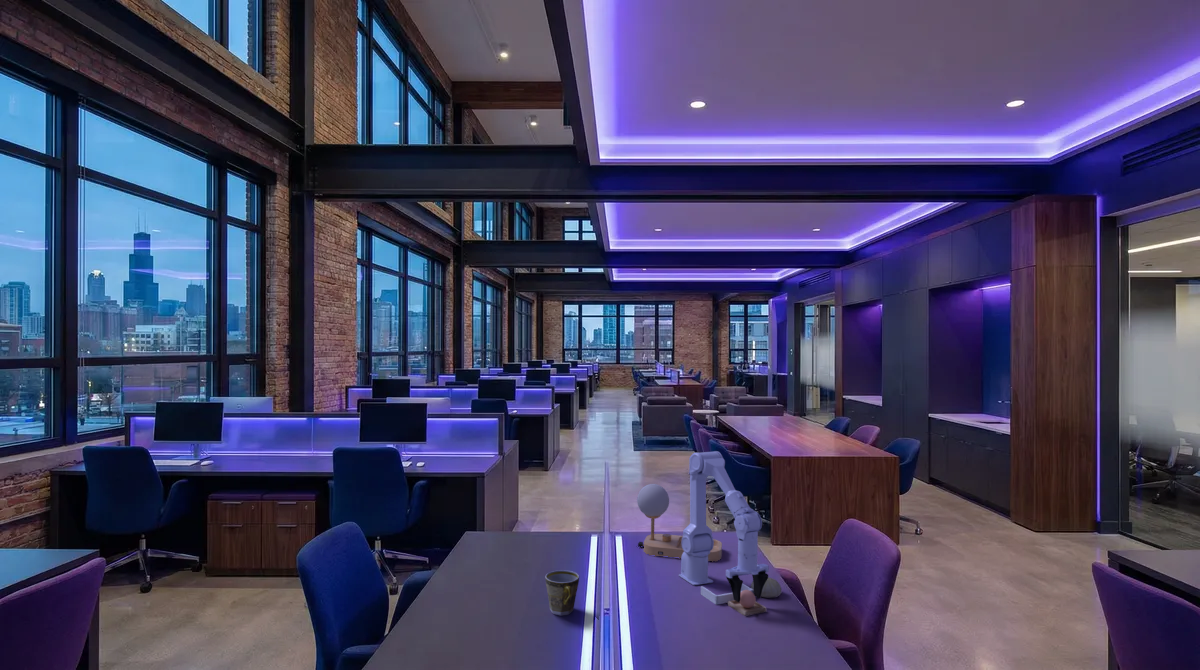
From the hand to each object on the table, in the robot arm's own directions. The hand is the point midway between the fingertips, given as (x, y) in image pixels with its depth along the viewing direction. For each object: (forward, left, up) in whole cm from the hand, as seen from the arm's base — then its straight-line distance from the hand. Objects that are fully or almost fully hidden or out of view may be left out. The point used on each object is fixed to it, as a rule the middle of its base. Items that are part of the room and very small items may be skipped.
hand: (747, 598), depth 176 cm
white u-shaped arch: (-10, 0, -3) cm, 10 cm away
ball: (0, 0, -2) cm, 3 cm away
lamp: (-52, +8, -3) cm, 53 cm away
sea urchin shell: (-7, +13, -3) cm, 15 cm away
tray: (0, 0, -3) cm, 3 cm away
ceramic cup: (-17, -52, -3) cm, 55 cm away
